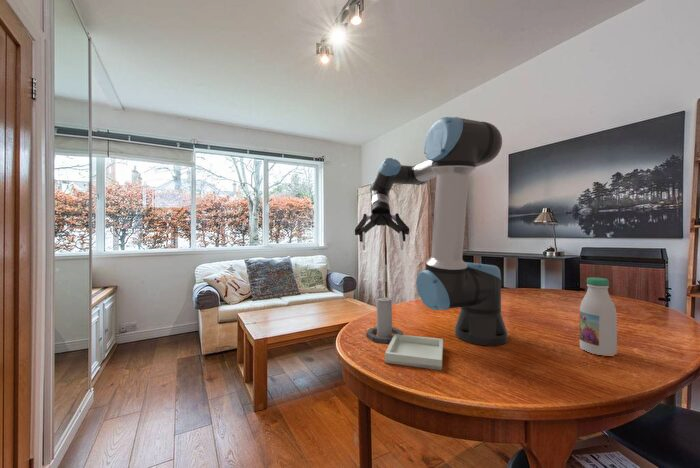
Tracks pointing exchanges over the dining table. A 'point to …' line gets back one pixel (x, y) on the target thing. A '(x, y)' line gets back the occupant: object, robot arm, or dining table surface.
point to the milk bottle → (598, 319)
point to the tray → (415, 351)
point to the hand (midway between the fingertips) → (382, 247)
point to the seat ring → (381, 339)
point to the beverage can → (384, 317)
